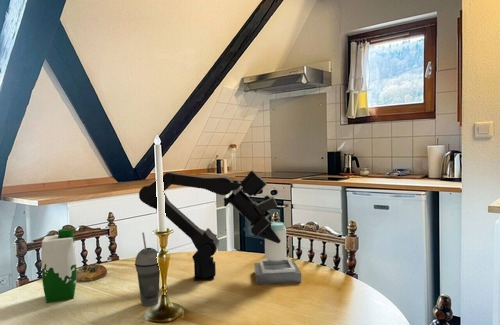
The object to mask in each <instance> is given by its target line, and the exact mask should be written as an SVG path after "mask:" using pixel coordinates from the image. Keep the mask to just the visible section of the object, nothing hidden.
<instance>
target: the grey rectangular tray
mask: <svg viewBox="0 0 500 325" xmlns="http://www.w3.org/2000/svg"><path fill="white" fill-rule="evenodd" d="M253 264H254V266H253V267H254V268H253V269H254V276H255V281H256V284H257V285H275V284H295V283H296V284H297V283H302V272H301V270H300V268H299V267H298V265H297V263H296V262H295V260H294V261H292V260H291V258H286V259H285V260H283V261H281V262H271V261H268V260H267V259H260V260H259V262H255V263H253Z"/></svg>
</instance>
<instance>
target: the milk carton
mask: <svg viewBox="0 0 500 325" xmlns="http://www.w3.org/2000/svg"><path fill="white" fill-rule="evenodd" d="M57 233H58V234H54V235H47V236H44V238H43V239H42V241H41V249H40V250H41V252H40V256H41V258H40V260H41V276H42V277H41V278H42V280H41V281H42V287H43V288H42V289H43V293H44V298H45V303H46V304H51V303H55V302H61V301H66V300H67V301H68V300H72V299H73V300H74V297H75V293H76V291H75V290H76V284H77V280H76V276H77V253H76V252H77V251H76V244H75V235H74V228H70V227H68V228H60V229H58V230H57Z"/></svg>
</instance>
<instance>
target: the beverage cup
mask: <svg viewBox="0 0 500 325" xmlns="http://www.w3.org/2000/svg"><path fill="white" fill-rule="evenodd" d="M145 237H146V236H145V232H142V240H143V249H141V250H140V251H139V252H138V253H137V254H136V257H135V260H134V261H135V262H134V266H135V270H136V273H137V280H138V281H137V282H138V288H139V295H140V296H139V297H140V300H141V305H142V306H143V307H152V306H156V305H157V304H158V303H159V295H160V294H159V293H160V275H161V274H160V273H161V272H160V271H161V269H160V270H159V266H158V263H157V258H156V257H157V253H159V251H157V250H156V249H155V248H154V247H147V243H146V238H145Z"/></svg>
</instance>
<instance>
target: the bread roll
mask: <svg viewBox="0 0 500 325" xmlns="http://www.w3.org/2000/svg"><path fill="white" fill-rule="evenodd" d="M76 271H77V276H76V282H82V281H83V282H93V281H96V280H99V279H102V278H104V277H106V276H107V273H108V269H107V268H106V267H105V266H104V265H102V264H91V263H90V264H88V265H83V266H82V267H80V268H78V269H76Z"/></svg>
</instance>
